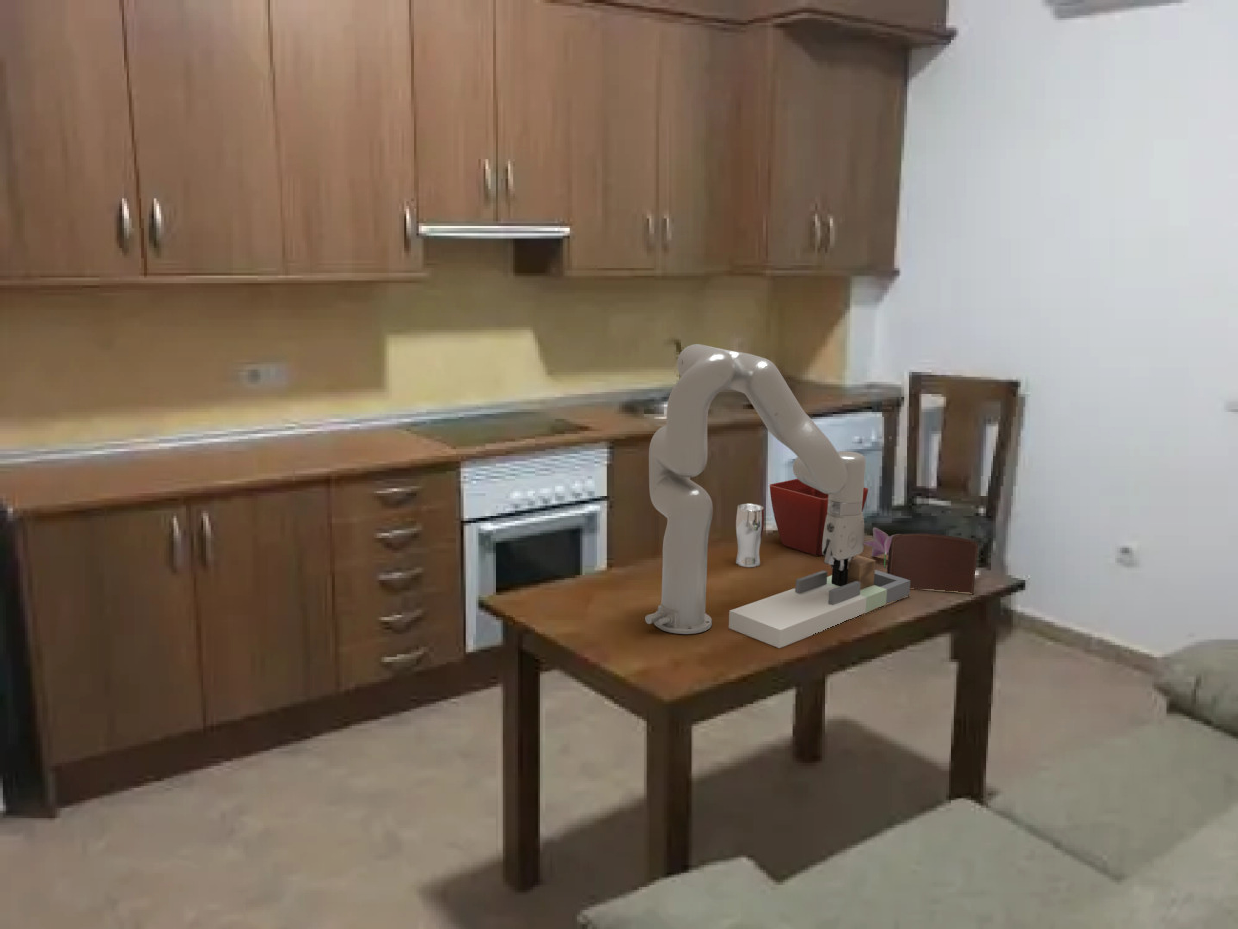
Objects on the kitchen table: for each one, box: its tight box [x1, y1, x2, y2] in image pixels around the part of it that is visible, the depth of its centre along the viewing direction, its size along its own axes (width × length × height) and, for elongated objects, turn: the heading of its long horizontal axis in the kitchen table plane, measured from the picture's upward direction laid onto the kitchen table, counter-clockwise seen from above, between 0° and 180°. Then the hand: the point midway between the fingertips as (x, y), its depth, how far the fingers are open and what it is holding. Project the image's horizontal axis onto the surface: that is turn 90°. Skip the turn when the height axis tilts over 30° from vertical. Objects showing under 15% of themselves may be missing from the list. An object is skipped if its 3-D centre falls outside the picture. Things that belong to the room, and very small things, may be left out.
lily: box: [864, 527, 899, 568], centre depth 270 cm, size 12×12×10 cm
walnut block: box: [847, 554, 876, 590], centre depth 242 cm, size 6×6×6 cm
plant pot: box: [769, 478, 869, 556], centre depth 282 cm, size 19×19×17 cm
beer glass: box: [735, 503, 765, 568], centre depth 267 cm, size 7×7×15 cm
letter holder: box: [886, 533, 979, 594], centre depth 254 cm, size 10×20×14 cm, turn 77°
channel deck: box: [728, 569, 911, 649], centre depth 236 cm, size 48×14×7 cm, turn 132°
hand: (839, 584), depth 239 cm, fingers closed
